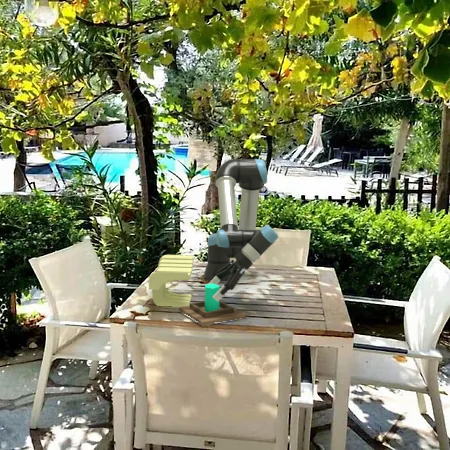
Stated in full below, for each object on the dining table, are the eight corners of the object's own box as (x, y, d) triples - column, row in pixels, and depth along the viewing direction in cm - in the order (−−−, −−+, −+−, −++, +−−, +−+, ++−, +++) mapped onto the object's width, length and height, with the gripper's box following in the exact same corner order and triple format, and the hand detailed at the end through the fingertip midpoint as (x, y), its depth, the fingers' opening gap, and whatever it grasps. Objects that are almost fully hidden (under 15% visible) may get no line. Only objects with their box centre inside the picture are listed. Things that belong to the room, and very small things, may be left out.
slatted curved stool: (159, 291, 242) (159, 254, 238) (193, 292, 241) (193, 255, 238) (148, 313, 212) (148, 271, 209) (187, 314, 212) (187, 272, 209)
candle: (204, 307, 214) (204, 280, 212) (218, 307, 214) (219, 280, 212) (204, 312, 208) (205, 284, 206) (219, 312, 209) (220, 284, 206)
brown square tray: (178, 311, 214) (178, 302, 214) (219, 304, 225) (219, 295, 224) (202, 327, 198) (203, 317, 197) (245, 318, 209) (245, 308, 208)
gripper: (262, 270, 200) (224, 310, 199) (244, 255, 224) (210, 290, 223) (250, 258, 198) (211, 297, 197) (233, 244, 221) (198, 279, 220)
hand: (211, 294), depth 210 cm, fingers open, 13 cm apart
